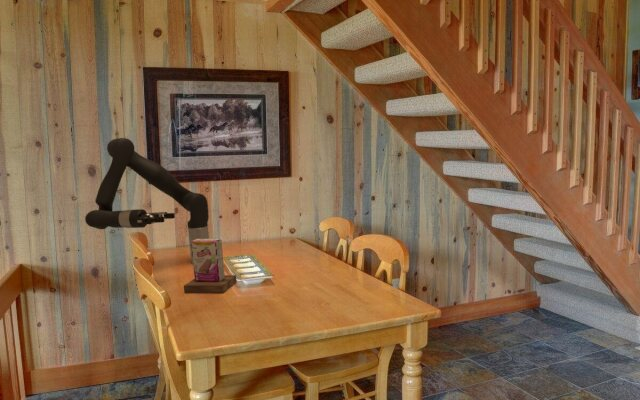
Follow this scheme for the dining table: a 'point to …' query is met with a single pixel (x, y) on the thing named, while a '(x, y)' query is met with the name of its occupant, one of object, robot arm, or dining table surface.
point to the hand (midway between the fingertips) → (169, 217)
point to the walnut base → (210, 285)
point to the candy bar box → (208, 260)
